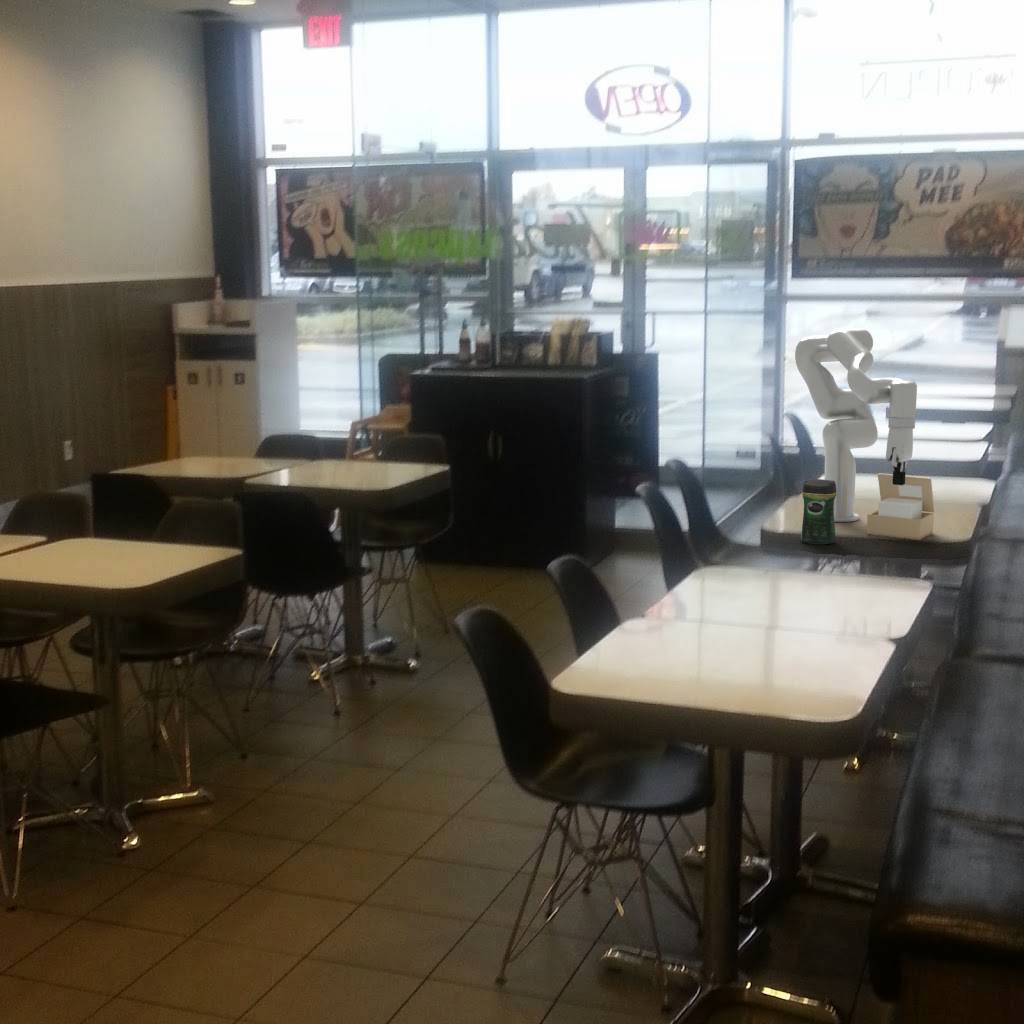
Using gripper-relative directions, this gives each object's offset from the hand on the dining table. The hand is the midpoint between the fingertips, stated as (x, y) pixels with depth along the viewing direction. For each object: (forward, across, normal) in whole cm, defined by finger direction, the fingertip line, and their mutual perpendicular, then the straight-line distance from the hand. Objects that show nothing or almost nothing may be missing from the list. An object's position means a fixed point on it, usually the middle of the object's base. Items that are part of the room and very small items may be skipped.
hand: (898, 484), depth 395 cm
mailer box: (+15, -2, 0) cm, 16 cm away
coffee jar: (+16, +22, -16) cm, 31 cm away
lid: (+4, -6, 0) cm, 7 cm away
